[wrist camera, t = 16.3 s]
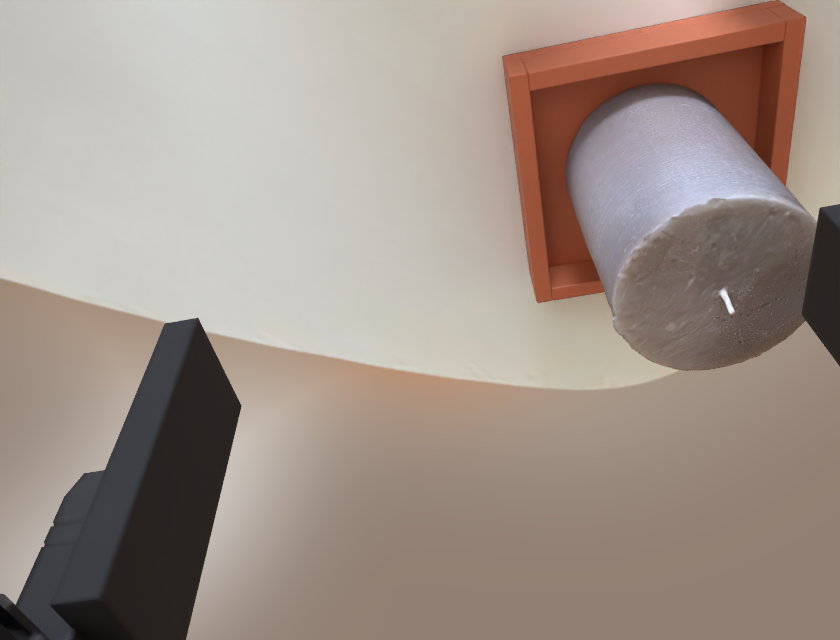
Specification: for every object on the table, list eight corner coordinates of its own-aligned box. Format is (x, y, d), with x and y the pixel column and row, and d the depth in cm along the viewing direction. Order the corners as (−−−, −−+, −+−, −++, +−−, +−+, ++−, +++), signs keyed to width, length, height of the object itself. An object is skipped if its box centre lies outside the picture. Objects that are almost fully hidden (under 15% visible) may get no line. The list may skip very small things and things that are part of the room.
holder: (529, 273, 49) (537, 303, 46) (502, 55, 40) (509, 76, 37) (755, 235, 47) (776, 264, 45) (778, -1, 38) (807, 16, 36)
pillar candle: (746, 183, 44) (871, 335, 32) (599, 255, 47) (663, 418, 35) (693, 46, 39) (818, 166, 27) (533, 137, 42) (582, 281, 30)
